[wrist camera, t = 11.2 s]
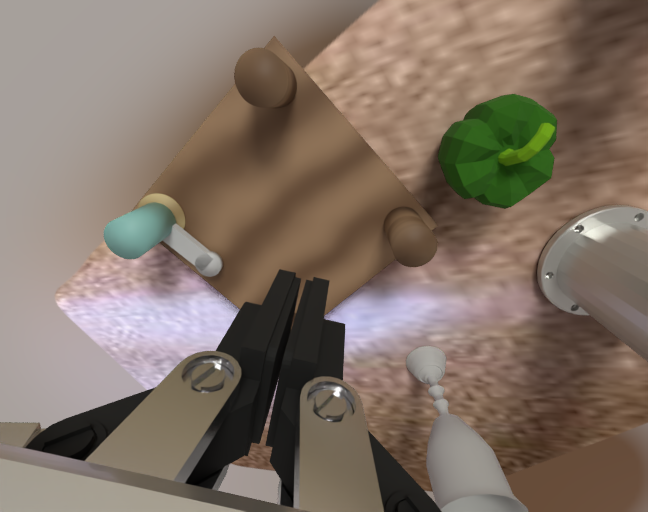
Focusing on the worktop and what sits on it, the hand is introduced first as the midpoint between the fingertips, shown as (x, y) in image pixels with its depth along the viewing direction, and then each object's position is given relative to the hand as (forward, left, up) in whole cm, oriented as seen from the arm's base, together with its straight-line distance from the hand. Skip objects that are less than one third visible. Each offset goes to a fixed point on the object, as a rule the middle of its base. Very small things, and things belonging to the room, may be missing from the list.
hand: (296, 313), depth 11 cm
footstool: (0, +6, -25) cm, 25 cm away
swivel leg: (+6, +14, -22) cm, 27 cm away
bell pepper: (-8, -12, -25) cm, 29 cm away
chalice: (-26, +7, -25) cm, 36 cm away
